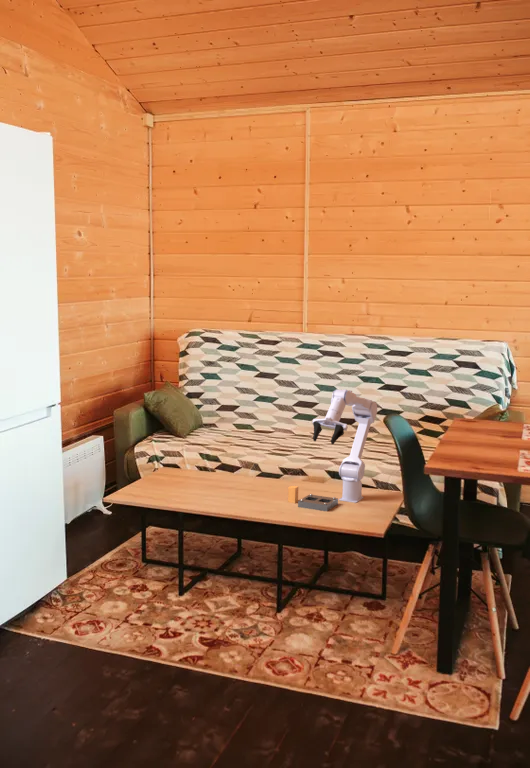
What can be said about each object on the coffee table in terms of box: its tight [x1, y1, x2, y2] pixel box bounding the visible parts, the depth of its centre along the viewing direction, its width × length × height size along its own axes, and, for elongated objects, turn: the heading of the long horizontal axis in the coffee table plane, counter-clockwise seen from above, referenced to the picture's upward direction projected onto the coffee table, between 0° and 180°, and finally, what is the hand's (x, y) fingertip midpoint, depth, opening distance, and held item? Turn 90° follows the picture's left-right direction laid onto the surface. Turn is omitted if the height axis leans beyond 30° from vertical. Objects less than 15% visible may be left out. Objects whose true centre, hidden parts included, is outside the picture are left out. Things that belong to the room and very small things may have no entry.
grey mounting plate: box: [297, 493, 339, 512], centre depth 323 cm, size 12×13×3 cm
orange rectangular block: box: [287, 485, 299, 504], centre depth 328 cm, size 3×3×6 cm
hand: (323, 441), depth 306 cm, fingers open, 7 cm apart
